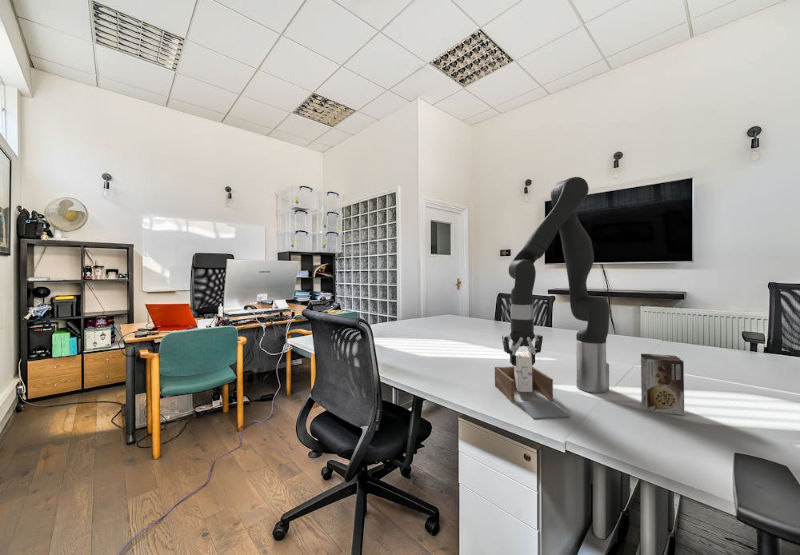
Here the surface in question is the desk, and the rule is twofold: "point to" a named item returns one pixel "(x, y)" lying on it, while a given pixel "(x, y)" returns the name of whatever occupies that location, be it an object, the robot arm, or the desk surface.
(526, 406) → the mat
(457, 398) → the desk surface
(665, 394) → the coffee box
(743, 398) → the desk surface
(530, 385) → the ink cartridge box
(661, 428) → the desk surface
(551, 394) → the open front box
